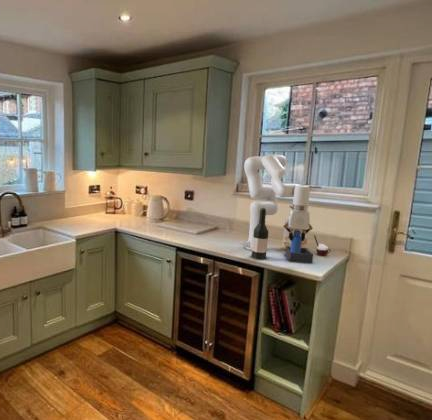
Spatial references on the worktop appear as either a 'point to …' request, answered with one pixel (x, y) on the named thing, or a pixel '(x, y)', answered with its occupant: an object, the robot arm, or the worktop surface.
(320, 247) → the cocoa
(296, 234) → the bottle
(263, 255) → the wine bottle
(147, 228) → the worktop surface
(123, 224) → the worktop surface
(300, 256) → the dark grey tray
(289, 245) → the coffeecake box
